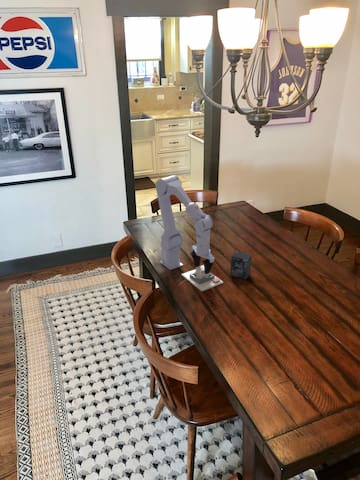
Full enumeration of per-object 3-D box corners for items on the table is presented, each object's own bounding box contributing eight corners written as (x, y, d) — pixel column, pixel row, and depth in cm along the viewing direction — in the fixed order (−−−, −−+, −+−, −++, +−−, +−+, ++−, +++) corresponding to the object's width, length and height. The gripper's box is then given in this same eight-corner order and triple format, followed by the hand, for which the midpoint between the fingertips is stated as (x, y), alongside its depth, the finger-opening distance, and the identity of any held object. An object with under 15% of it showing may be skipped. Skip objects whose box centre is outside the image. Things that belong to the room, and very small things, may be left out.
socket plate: (181, 275, 172) (181, 271, 171) (202, 268, 178) (202, 264, 177) (201, 291, 160) (202, 286, 159) (223, 283, 166) (223, 278, 165)
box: (229, 275, 172) (231, 256, 167) (234, 270, 176) (235, 250, 172) (245, 280, 169) (247, 260, 164) (250, 274, 173) (252, 254, 168)
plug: (195, 277, 169) (195, 267, 167) (204, 274, 172) (204, 264, 170) (200, 281, 166) (200, 271, 164) (209, 278, 169) (209, 268, 167)
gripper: (220, 246, 158) (219, 274, 164) (200, 234, 169) (199, 260, 175) (207, 251, 154) (206, 278, 160) (187, 238, 165) (187, 264, 171)
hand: (202, 269), depth 167 cm, fingers open, 7 cm apart
